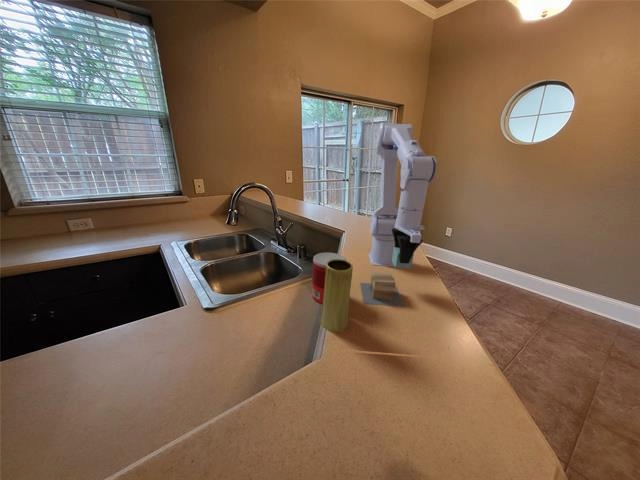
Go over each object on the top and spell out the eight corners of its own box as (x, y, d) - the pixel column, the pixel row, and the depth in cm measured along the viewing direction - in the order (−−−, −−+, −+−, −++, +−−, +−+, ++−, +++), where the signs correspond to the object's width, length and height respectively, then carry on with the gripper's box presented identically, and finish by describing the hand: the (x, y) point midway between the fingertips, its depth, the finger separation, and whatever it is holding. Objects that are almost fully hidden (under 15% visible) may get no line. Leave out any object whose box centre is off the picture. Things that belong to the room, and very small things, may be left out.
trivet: (359, 284, 70) (359, 282, 70) (395, 286, 70) (395, 285, 70) (363, 305, 61) (363, 303, 61) (404, 307, 60) (405, 306, 60)
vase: (351, 318, 56) (357, 261, 51) (344, 336, 50) (351, 274, 45) (325, 312, 57) (329, 255, 52) (316, 328, 52) (319, 268, 47)
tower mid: (371, 280, 67) (372, 271, 66) (389, 281, 66) (391, 272, 66) (373, 290, 62) (375, 281, 61) (394, 291, 62) (395, 282, 61)
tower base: (369, 288, 68) (371, 280, 67) (388, 289, 67) (389, 281, 66) (372, 298, 63) (373, 290, 62) (392, 299, 63) (394, 291, 62)
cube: (391, 260, 68) (393, 247, 66) (406, 261, 68) (409, 248, 66) (395, 267, 64) (397, 253, 62) (411, 268, 64) (413, 254, 62)
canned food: (341, 309, 59) (344, 267, 55) (308, 304, 60) (309, 263, 56) (344, 292, 66) (348, 254, 62) (315, 287, 67) (316, 250, 63)
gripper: (439, 216, 54) (427, 272, 58) (417, 202, 67) (408, 249, 72) (406, 214, 54) (397, 271, 58) (391, 201, 67) (384, 247, 72)
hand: (401, 258), depth 65 cm, fingers closed on cube, 4 cm apart
